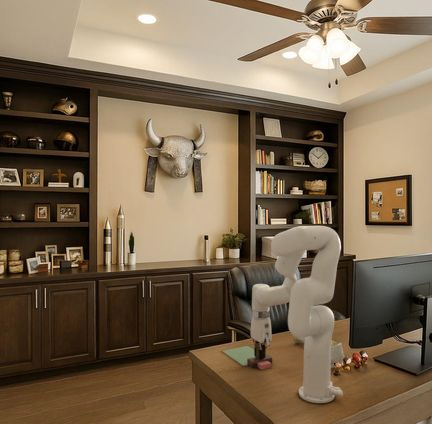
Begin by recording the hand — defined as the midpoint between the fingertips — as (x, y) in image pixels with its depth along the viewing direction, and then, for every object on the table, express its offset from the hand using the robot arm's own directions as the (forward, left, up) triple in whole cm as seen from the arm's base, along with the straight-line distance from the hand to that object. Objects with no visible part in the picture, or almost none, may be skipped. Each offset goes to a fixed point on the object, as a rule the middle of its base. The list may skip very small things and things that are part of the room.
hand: (259, 356), depth 164 cm
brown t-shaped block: (0, 0, -3) cm, 3 cm away
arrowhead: (-30, -11, -4) cm, 33 cm away
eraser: (-3, +2, -3) cm, 5 cm away
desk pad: (+10, -7, -3) cm, 12 cm away
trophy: (-18, -25, -4) cm, 31 cm away
